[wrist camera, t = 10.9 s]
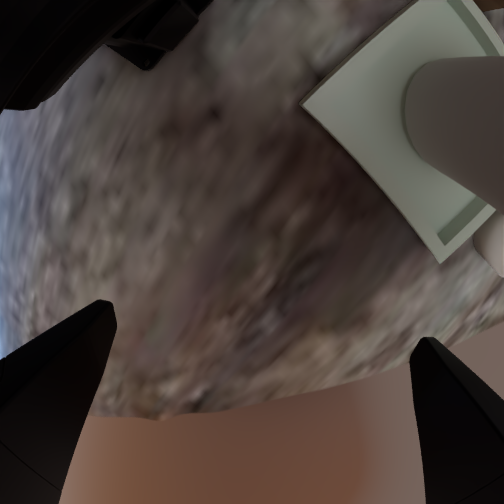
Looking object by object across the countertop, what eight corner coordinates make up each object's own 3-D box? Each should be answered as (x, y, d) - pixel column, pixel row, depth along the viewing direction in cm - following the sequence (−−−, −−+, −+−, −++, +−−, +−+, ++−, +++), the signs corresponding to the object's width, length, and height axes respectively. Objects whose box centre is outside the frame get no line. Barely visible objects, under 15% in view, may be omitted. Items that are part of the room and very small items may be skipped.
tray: (297, 103, 17) (302, 104, 14) (433, -16, 11) (451, -25, 9) (426, 246, 21) (440, 264, 18) (531, 136, 15) (551, 144, 13)
